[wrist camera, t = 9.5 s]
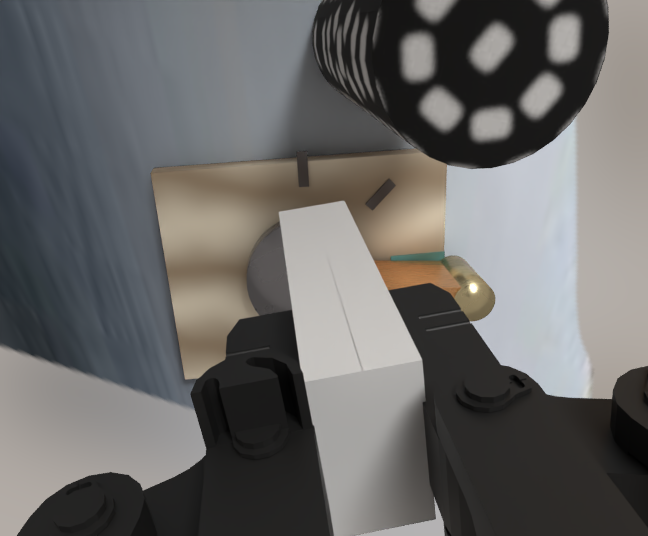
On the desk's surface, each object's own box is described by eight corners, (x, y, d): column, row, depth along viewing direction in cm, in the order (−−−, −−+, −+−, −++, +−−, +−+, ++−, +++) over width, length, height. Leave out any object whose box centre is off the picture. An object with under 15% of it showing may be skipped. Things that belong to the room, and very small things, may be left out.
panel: (152, 157, 40) (148, 163, 38) (440, 136, 41) (448, 141, 40) (188, 376, 46) (186, 388, 45) (434, 350, 48) (440, 360, 47)
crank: (246, 329, 43) (246, 365, 39) (246, 212, 40) (246, 236, 35) (460, 326, 45) (484, 360, 41) (477, 215, 42) (506, 238, 37)
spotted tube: (381, 127, 41) (491, 212, 22) (286, 48, 38) (321, 69, 20) (462, 26, 39) (656, 27, 20) (368, -65, 36) (492, -159, 18)
